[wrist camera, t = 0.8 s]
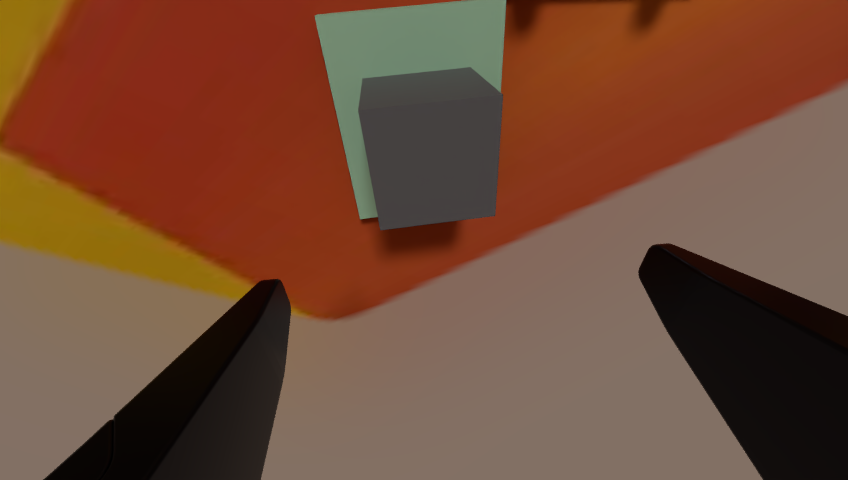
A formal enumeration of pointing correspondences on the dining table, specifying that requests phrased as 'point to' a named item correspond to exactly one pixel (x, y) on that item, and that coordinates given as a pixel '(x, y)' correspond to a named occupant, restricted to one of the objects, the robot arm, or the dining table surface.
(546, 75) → the dining table surface
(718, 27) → the dining table surface
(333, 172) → the dining table surface
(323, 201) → the dining table surface
